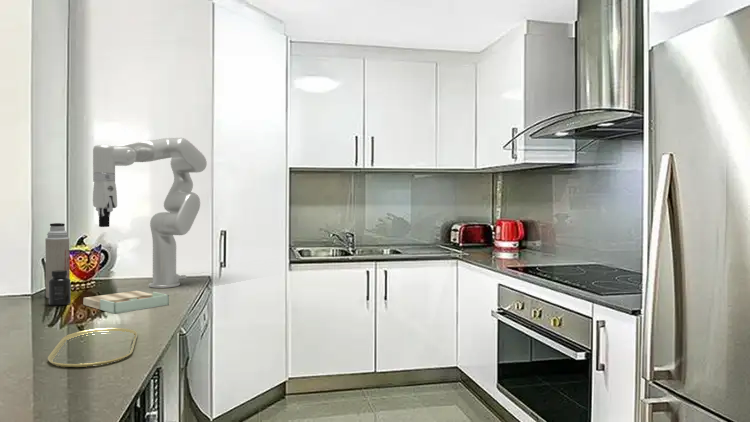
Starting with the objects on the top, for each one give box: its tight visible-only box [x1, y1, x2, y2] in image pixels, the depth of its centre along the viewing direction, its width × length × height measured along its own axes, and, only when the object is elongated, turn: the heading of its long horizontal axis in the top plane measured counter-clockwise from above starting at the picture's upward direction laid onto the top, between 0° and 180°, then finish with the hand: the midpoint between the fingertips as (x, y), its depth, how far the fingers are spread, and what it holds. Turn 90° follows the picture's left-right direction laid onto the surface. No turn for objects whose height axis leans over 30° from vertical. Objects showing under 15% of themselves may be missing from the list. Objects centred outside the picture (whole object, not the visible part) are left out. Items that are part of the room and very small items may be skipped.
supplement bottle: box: [48, 270, 72, 307], centre depth 200 cm, size 7×7×12 cm
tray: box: [99, 291, 170, 314], centre depth 198 cm, size 20×10×4 cm, turn 142°
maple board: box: [82, 290, 153, 310], centre depth 204 cm, size 20×12×2 cm, turn 142°
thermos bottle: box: [45, 222, 71, 299], centre depth 215 cm, size 8×8×28 cm
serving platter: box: [47, 327, 138, 368], centre depth 146 cm, size 19×35×2 cm, turn 19°
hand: (104, 226), depth 212 cm, fingers closed
